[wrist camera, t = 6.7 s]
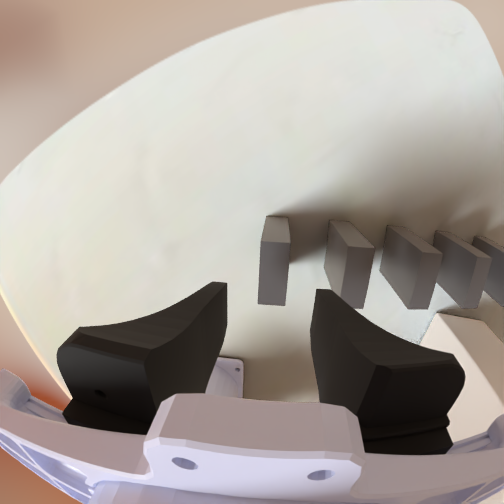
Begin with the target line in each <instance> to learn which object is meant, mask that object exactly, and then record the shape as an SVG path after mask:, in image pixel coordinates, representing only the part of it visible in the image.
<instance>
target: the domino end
mask: <svg viewBox="0 0 504 504" xmlns="http://www.w3.org/2000/svg"><path fill="white" fill-rule="evenodd" d="M472 246H474V247H475V248H477V249H479V250H480V251H482V252H483V253H485V254H487V255H488V256H490V257H491V258H492V261H491V265H490V269H489V272H488V276H487V279H486V282H485V286H484V289H483V290H484V291H485V292H486V293H487V294H488V295H490V296H491V297H492V298H493V299H494V300H495V301H496V302H497V303H499V304H500V305H501V306H502V307H504V247H502V246H500V245H498V244H497V243H495V242H493V241H491V240H489V239H488V238H486V237H480V236H474V240H473V245H472Z"/></svg>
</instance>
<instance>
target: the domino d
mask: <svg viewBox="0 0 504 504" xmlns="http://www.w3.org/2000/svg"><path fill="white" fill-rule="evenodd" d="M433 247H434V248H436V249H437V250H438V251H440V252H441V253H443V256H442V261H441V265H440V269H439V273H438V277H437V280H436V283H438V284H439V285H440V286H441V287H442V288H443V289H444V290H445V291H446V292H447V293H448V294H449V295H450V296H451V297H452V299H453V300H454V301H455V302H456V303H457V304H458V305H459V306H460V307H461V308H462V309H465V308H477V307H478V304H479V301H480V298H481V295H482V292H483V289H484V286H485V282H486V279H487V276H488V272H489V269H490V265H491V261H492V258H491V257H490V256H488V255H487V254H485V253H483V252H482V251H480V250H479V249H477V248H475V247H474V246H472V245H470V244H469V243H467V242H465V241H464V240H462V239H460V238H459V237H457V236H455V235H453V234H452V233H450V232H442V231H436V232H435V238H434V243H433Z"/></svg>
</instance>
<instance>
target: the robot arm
mask: <svg viewBox="0 0 504 504" xmlns="http://www.w3.org/2000/svg"><path fill="white" fill-rule="evenodd" d="M226 328H227V283H223V282H211V283H209V284H208V285H206V286H205V287H203V288H201V289H200V290H198V291H197V292H195V293H194V294H192V295H190V296H189V297H187V298H185V299H183V300H182V301H180V302H178V303H176V304H174V305H172V306H170V307H168V308H166V309H164V310H162V311H159V312H157V313H154V314H151V315H148V316H145V317H142V318H138V319H135V320H131V321H127V322H122V323H117V324H111V325H103V326H89V327H79V328H78V329H77V330H76V331H75V332H74V333H73V334H72V335H71V336H70V337H69V338H68V339H67V340H66V341H65V342H64V343H63V344H62V345H61V346H60V347H59V348H58V351H57V364H58V367H59V370H60V372H61V375H62V377H63V379H64V381H65V383H66V385H67V387H68V389H69V391H70V393H71V395H72V397H73V399H72V400H71V401H70V403H69V404H68V406H67V407H66V408H65V410H64V411H61V410H59V409H57V408H55V407H52V406H50V405H48V404H46V403H45V402H43V401H41V400H39V399H37V398H35V397H33V396H31V393H30V391H29V389H28V387H27V386H26V384H25V383H24V381H22V379H21V378H19V377H18V376H16V375H14V374H13V373H11V372H9V371H8V370H6V369H2V370H1V371H0V446H1V447H2V448H3V449H4V450H5V451H7V452H8V453H9V454H10V455H12V456H13V457H14V458H15V459H17V460H18V461H19V462H21V463H22V464H23V465H25V466H26V467H27V468H29V469H30V470H31V471H33V472H34V473H36V474H37V475H38V476H40V477H42V478H43V479H44V480H46V481H47V482H49V483H50V484H52V485H53V486H55V487H56V488H58V489H60V490H61V491H63V492H64V493H66V494H68V495H69V496H71V497H73V498H74V499H76V500H78V501H80V502H81V503H83V504H478V503H480V502H482V501H484V500H485V499H487V498H489V497H491V496H493V495H495V494H496V493H498V492H500V491H502V490H503V489H504V414H502V415H500V416H499V417H497V418H496V419H495V420H494V421H493V423H492V424H491V425H490V427H489V428H488V430H487V431H486V432H483V433H480V434H477V435H475V436H472V437H469V438H466V439H463V440H459V441H456V442H452V440H451V437H450V435H449V432H448V430H447V428H446V427H448V426H449V425H450V420H449V418H448V416H447V414H448V412H449V411H450V409H451V408H452V406H453V404H454V403H455V401H456V400H457V398H458V397H459V395H460V393H461V391H462V389H463V387H464V383H465V378H466V376H465V371H464V369H463V368H462V366H461V365H460V363H459V362H458V360H457V359H456V357H455V356H454V354H452V353H447V352H443V351H438V350H434V349H430V348H426V347H423V346H420V345H417V344H414V343H411V342H409V341H406V340H404V339H402V338H399V337H397V336H395V335H393V334H391V333H389V332H387V331H385V330H383V329H382V328H380V327H378V326H377V325H375V324H373V323H372V322H370V321H369V320H368V319H366V318H365V317H364V316H362V315H361V314H359V313H358V312H357V311H356V310H354V309H353V308H352V307H351V306H350V305H349V304H347V303H346V302H345V301H344V300H343V299H342V298H341V297H339V296H338V295H337V294H336V293H335V292H334V291H332V290H329V289H316V296H315V303H314V309H313V316H312V322H311V328H310V338H311V351H312V357H313V362H314V368H315V373H316V379H317V384H318V390H319V400H320V402H283V401H267V400H254V399H243V369H244V363H243V361H241V360H239V359H230V358H221V357H218V356H219V353H220V350H221V348H222V345H223V342H224V338H225V333H226ZM236 368H239V369H236Z"/></svg>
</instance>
